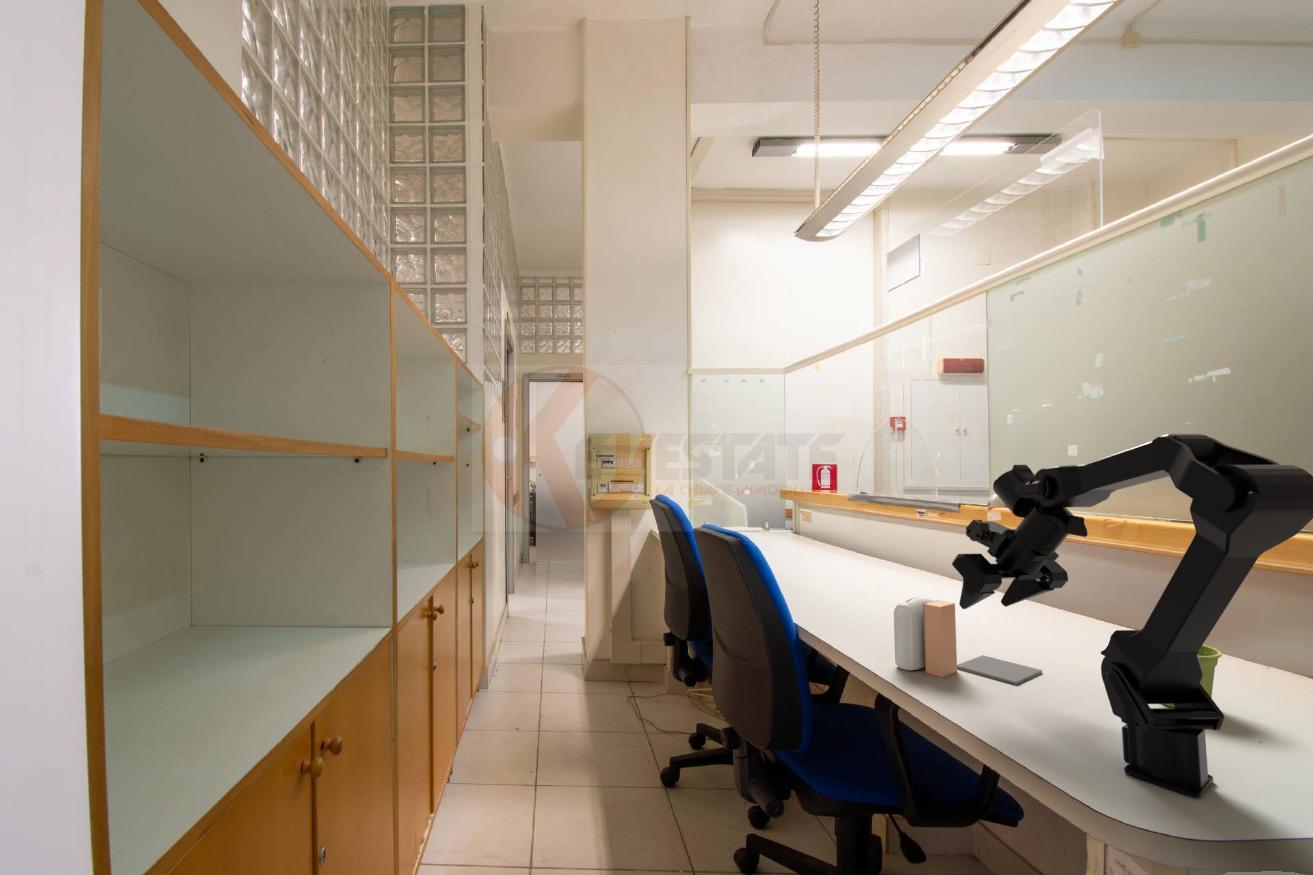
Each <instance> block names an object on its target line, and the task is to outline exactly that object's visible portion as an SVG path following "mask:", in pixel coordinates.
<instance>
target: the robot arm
mask: <svg viewBox="0 0 1313 875" xmlns="http://www.w3.org/2000/svg"><path fill="white" fill-rule="evenodd" d="M1167 477H1170V479H1171V481H1172V483H1173V485H1174V487H1175V488H1176V489H1177V490H1178V491H1180V492H1181V493H1183V494H1185V495H1186V496H1188V497H1189V498H1190V499H1192V500H1191V503H1190V506H1189V512H1190V516H1191V519H1192V523H1193V526H1194V529H1195V530H1194V531H1195V534H1194V536H1193V538H1192V540H1191V542H1190V544H1189V546H1188V547H1187V548H1186V551H1185V552H1184V554H1183V556H1182V558H1181V559H1180V562H1179V563H1178V565H1177V567H1176V568H1175V571H1174V572H1173V574H1172V575H1171V577H1170V579H1169V581H1168V582H1167V585H1166V586H1165V588H1164V590H1163V591H1162V594H1161V595H1160V596H1159V599H1158V601H1157V602H1156V604H1155V606H1154V607H1153V609H1152V611H1151V614H1150V615H1149V616H1148V618H1147V620H1146V622H1145V624H1144V625H1143V627H1142V628H1141V629H1129V630H1128V629H1122V630H1121V629H1120V630H1119V629H1117V630H1115V631H1113V633H1111V635H1110V639H1109V642H1108V644H1107V646H1106V647H1105V649H1103V650H1102V651H1100V655H1102V656H1104V657H1103V659H1102V661H1101V664H1100V671H1101V672H1100V674H1101V679H1102V682H1103V684H1104V686H1103V687H1104V689H1105V692H1106V695H1107V699H1108V701H1109V704H1110V709H1111V711H1112V714H1113V715H1114V716H1115V717H1118V718H1120V720H1121V723H1124V725H1123V726H1122V727H1121V734H1122V736H1121V737H1122V752H1123V753H1122V754H1123V761H1124V762H1125V764H1127V765H1126V766H1124V767H1123V769H1124V770H1123V771H1124V773H1125V774H1127V775H1129V776H1133V777H1135V778H1137V779H1138V778H1139V779H1140V780H1144V781H1146V782H1149V783H1153V784H1154V785H1158V786H1161V787H1164V788H1166V789H1170V790H1172V791H1173V790H1174V791H1175V792H1178V793H1181V794H1184V795H1187V796H1190V797H1194V798H1198V799H1200V798H1201V797H1202V796H1203V795H1204V794H1205V792H1206V791H1207V790H1208V788H1209V787H1210V786H1211V785H1212V784H1213V783H1214V777H1213V775H1212V774H1209V771H1208V770H1209V769H1208V757H1207V742H1206V741H1207V740H1206V730H1212V731H1220V730H1221V728H1222V725H1223V722H1224V718H1225V715H1224V713H1223V712H1222V710H1221V709H1220V707H1219V706H1218V704H1216V702H1215V701H1214V700H1213V698H1211V697H1210V696H1209V695H1208V693H1207V692H1206V691H1205V689H1204V688H1203V687H1202V685H1201V684H1200V682H1201V679H1202V676H1203V671H1202V668H1201V665H1200V662H1199V658H1198V655H1197V654H1198V651H1199V649H1200V648H1201V646H1202V645H1204V643H1205V641H1206V640H1207V638H1208V637H1209V636H1210V634H1211V632H1212V631H1213V629H1214V628H1215V626H1216V624H1217V623H1218V621H1219V620H1220V618H1221V617H1222V615H1223V614H1224V612H1225V610H1226V609H1227V608H1228V606H1229V604H1230V603H1231V601H1232V600H1233V598H1234V596H1235V595H1236V593H1237V592H1238V590H1239V588H1240V587H1241V586H1242V584H1243V582H1244V581H1245V579H1246V578H1247V576H1248V575H1249V573H1250V571H1251V570H1252V568H1253V567H1254V565H1255V564H1256V562H1257V561H1258V559H1259V557H1261V556H1262V554H1264V553H1266V552H1268V551H1269V550H1271V549H1273V548H1275V547H1276V546H1278V545H1280V544H1283V543H1284V542H1286V541H1288V540H1289V539H1292V538H1293V537H1295V536H1296V535H1298V534H1299V533H1300V532H1301V531H1302V530H1303V528H1305V527H1306V526H1307V525H1308V524H1309V523H1310V522H1312V521H1313V475H1312V474H1311V473H1310V472H1308V471H1306V470H1305V469H1303V468H1302V467H1299V466H1295V465H1292V464H1280V463H1279V462H1276V461H1275V460H1272V459H1270V458H1267V457H1265V456H1262V455H1259V454H1255V453H1252V452H1248V451H1245V450H1242V449H1240V448H1237V447H1233V446H1230V445H1227V444H1225V443H1223V442H1221V441H1219V440H1218V439H1216V438H1213V437H1210V436H1208V435H1205V434H1202V433H1167V434H1162V435H1160V436H1157V437H1156V438H1154V439H1153V440H1152V441H1148V442H1145V443H1144V444H1143V443H1142V444H1140V445H1137V446H1134V447H1131V448H1128V449H1125V450H1122V451H1120V452H1116V453H1114V454H1110V455H1108V456H1105V457H1101V458H1100V459H1099V458H1098V459H1096V460H1092V461H1091V462H1088V463H1083V464H1082V463H1081V464H1074V465H1072V464H1071V465H1057V466H1049V467H1041V468H1040V469H1038V470H1037V471H1036V473H1035V474H1034V472H1033V471H1032V469H1031V468H1030V467H1029V466H1028V465H1027V464H1014V465H1013V466H1012V468H1011V470H1008V471H1005V472H1004V473H1002V474H1000V476H998V478H997V479H994V481H993V484H992V490H993V492H994V493H995V494H996V496H997V497H998V498H999V500H1001V501H1002V503H1003V504H1004V505H1005V506H1006V507H1007V508H1008V510H1009V511H1010V512H1011V513H1012V514H1013V515H1014V516H1015V517H1018V518H1022V520H1021V522H1019V524H1018V526H1016V528H1014V529H1011V528H1009V527H1008V526H1004V525H1002V524H1000V523H998V522H995V521H990V520H983V519H982V520H981V519H972V520H971V521H970V523H969V524H968V525H967V526H966V527H965V535H966V537H967V538H969V540H971V541H972V542H977V543H978V544H981V545H982V546H984V547H986V548H988V549H987V551H986V552H987V553H988V554H989V556H991V557H992V558H995V563H991V562H990V561H989V560H988V559H986V557H985V556H984V555H983V554H982V553H958V554H957V555H956V556H955V557H954V559H953V560H952V561H951V566H952V567H953V568H954V569H955V570H956V571H957V572H958V574H960V576H961V577H962V588H961V592H960V598H959V602H958V604H959V607H961V609H962V610H967V609H968V608H970V607H973V606H975V605H976V604H977V603H980V602H982V601H983V600H985V599H987V598H989V597H991V596H992V595H994V594H996V590H997V589H999V588H1000V586H1002V584H1003V580H1012V581H1011V583H1010V584H1009V586H1008V588H1007V589H1006V591H1005V592H1004V594H1003V596H1002V598H1001V599H1000V603H1001V604H1002V606H1003V607H1009V606H1012V605H1015V604H1018V603H1020V602H1022V601H1025V600H1028V599H1031V598H1033V597H1037V596H1039V595H1042V594H1046V593H1049V592H1053V591H1054V590H1055V589H1062V588H1063V587H1064V586H1065V585H1066V583H1067V582H1069V576H1068V571H1066V570H1065V568H1064V567H1063V566H1061V565H1060V564H1059V563H1058V562H1057V561H1056V560H1057V559H1058V558H1059V556H1060V554H1058V553H1057V552H1056V550H1057V549H1058V548H1059V547H1060V545H1062V543H1063V542H1064V540H1066V538H1067V537H1068V536H1069V535H1071V536H1077V537H1084V538H1087V536H1088V534H1089V533H1088V528H1087V526H1086V524H1085V518H1084V517H1083V516H1078V515H1074V513H1072V512H1071V510H1069V509H1068V508H1091V507H1095V506H1096V505H1098V504H1101V503H1102V502H1105V501H1107V500H1108V499H1109V498H1110V497H1111V494H1112V493H1114V492H1117V491H1118V490H1123V489H1126V488H1129V487H1133V486H1137V485H1141V484H1145V483H1149V482H1152V481H1155V480H1159V479H1163V478H1164V479H1165V478H1167ZM1164 704H1174V706H1175V708H1173V707H1156V708H1155V707H1154V708H1151V707H1150V705H1164Z"/></svg>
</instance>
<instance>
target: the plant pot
mask: <svg viewBox="0 0 1313 875" xmlns="http://www.w3.org/2000/svg"><path fill="white" fill-rule="evenodd" d="M1197 655H1198V658H1199V662H1200V665H1201V668H1202V671H1203V676H1202V679H1201V682H1200V684H1201V685H1202V687H1203V688H1204V689H1205V691H1206V692H1207V693H1208V695H1209V696H1210V697H1211V698H1212V695H1213V688H1214V687H1213V686H1214V680H1215V669H1216V667H1217V665H1218V662H1219V661H1218V660H1219V658H1221V657H1222V655H1223V654H1222V652H1221V651H1220V650H1218V649H1216V648H1215V647H1212V646H1210V645H1206V644H1203V645H1202V646H1201V648H1200V649H1199V651H1198V654H1197ZM1212 699H1213V698H1212ZM1163 705H1165V706H1167V707H1169V708H1175V706H1174V704H1163Z"/></svg>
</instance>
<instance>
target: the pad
mask: <svg viewBox="0 0 1313 875" xmlns="http://www.w3.org/2000/svg"><path fill="white" fill-rule="evenodd" d="M957 670H961V671H964V672H967V673H972V674H974V675H978V676H981V677H986V678H989V679H993V680H996V681H1000V682H1004V683H1008V684H1011V685H1014V686H1017V685H1020V684H1023V683H1024V682H1026V681H1028V680H1031V679H1033V678H1035V677H1037V676H1039V675H1041V674H1042V673H1043V670H1042V669H1039V668H1035V667H1030V666H1027V665H1023V664H1018V663H1017V662H1015V663H1014V662H1012V661H1007V660H1003V659H1000V658H999V659H998V658H995V657H991V656H987V655H980V656H977V657H974V658H972V659H969V660H967V661H964V662H962V663H959V664H958V663H957Z"/></svg>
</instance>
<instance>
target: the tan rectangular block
mask: <svg viewBox="0 0 1313 875" xmlns="http://www.w3.org/2000/svg"><path fill="white" fill-rule="evenodd" d="M923 610H924V644H925V667H924V669H925V670H924V673H926V674H929V675H933V676H936V677H939V678H944V677H947V676H950V675H953V674H954V673H957V672H958V669H957V665H958V661H957V660H958V658H957V657H958V656H957V628H956V604H955V602H950V601H944V600H939V599H936V600H935V601H932V602H928V603H924V604H923Z"/></svg>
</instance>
